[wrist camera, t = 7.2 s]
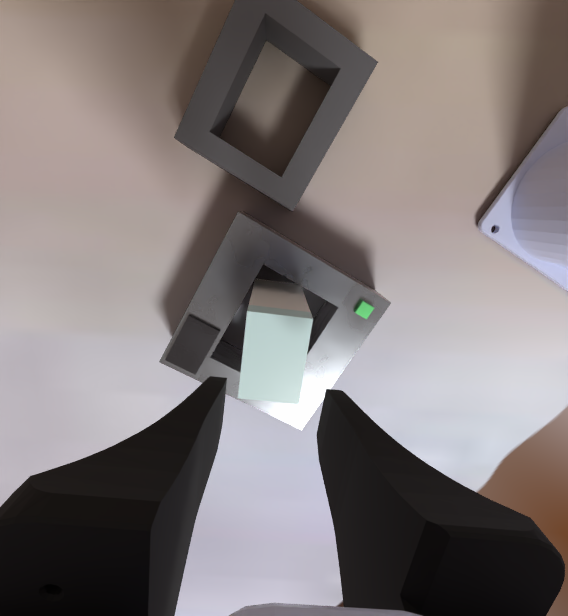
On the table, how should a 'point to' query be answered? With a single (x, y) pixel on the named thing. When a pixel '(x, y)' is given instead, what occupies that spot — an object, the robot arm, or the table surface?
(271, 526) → the table surface
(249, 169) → the grey hollow square frame
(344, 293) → the port
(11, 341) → the table surface
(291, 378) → the plug
